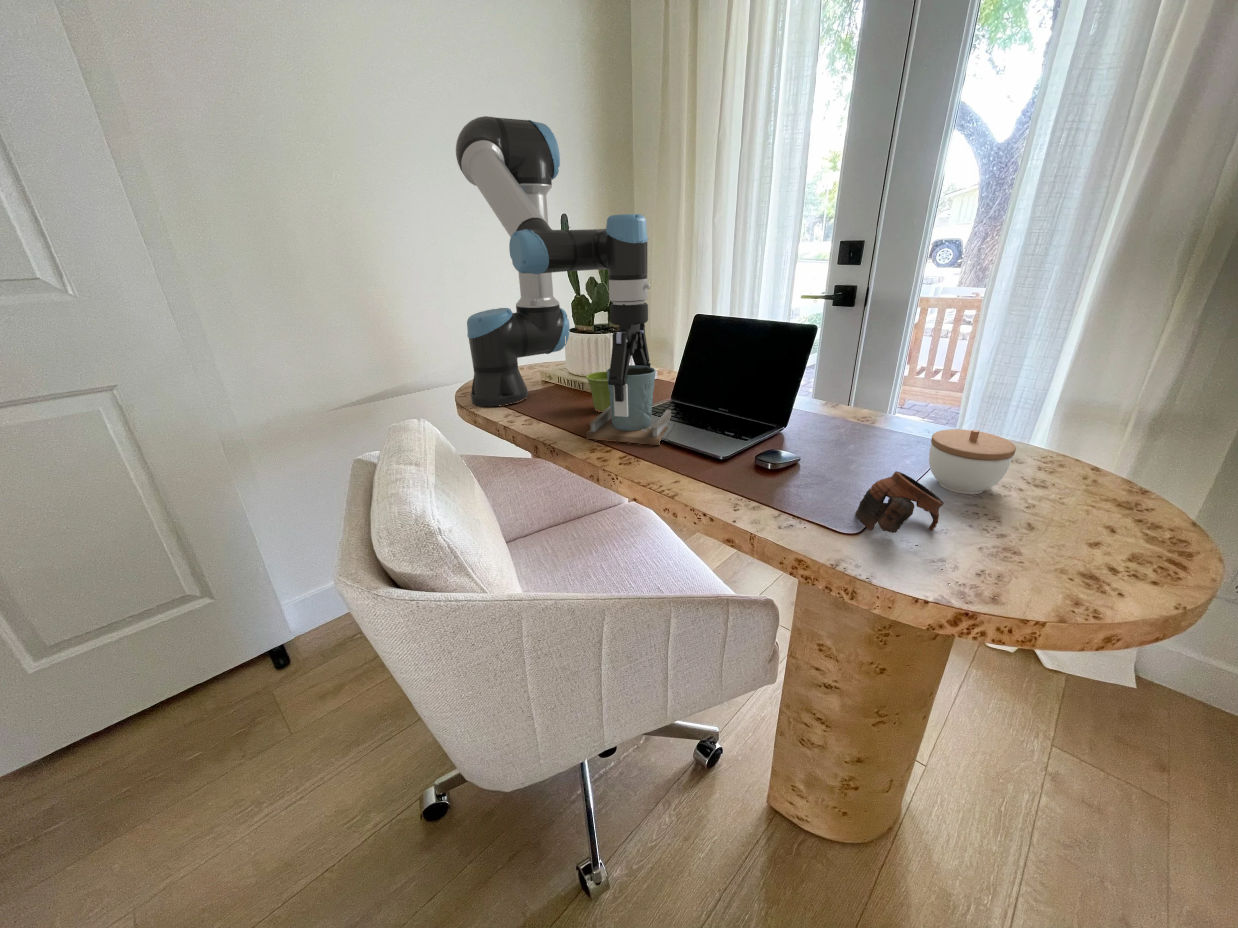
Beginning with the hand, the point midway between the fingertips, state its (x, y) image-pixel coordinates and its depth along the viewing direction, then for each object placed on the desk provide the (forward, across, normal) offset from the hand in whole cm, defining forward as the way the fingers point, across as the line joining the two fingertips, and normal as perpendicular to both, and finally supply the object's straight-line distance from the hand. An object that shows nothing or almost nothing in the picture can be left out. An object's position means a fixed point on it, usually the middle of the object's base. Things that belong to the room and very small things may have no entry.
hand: (631, 406), depth 105 cm
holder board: (+6, 0, 0) cm, 6 cm away
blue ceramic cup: (+4, 0, 0) cm, 4 cm away
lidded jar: (+6, -12, -59) cm, 61 cm away
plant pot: (+6, +14, +11) cm, 19 cm away
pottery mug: (+6, -28, -47) cm, 55 cm away
